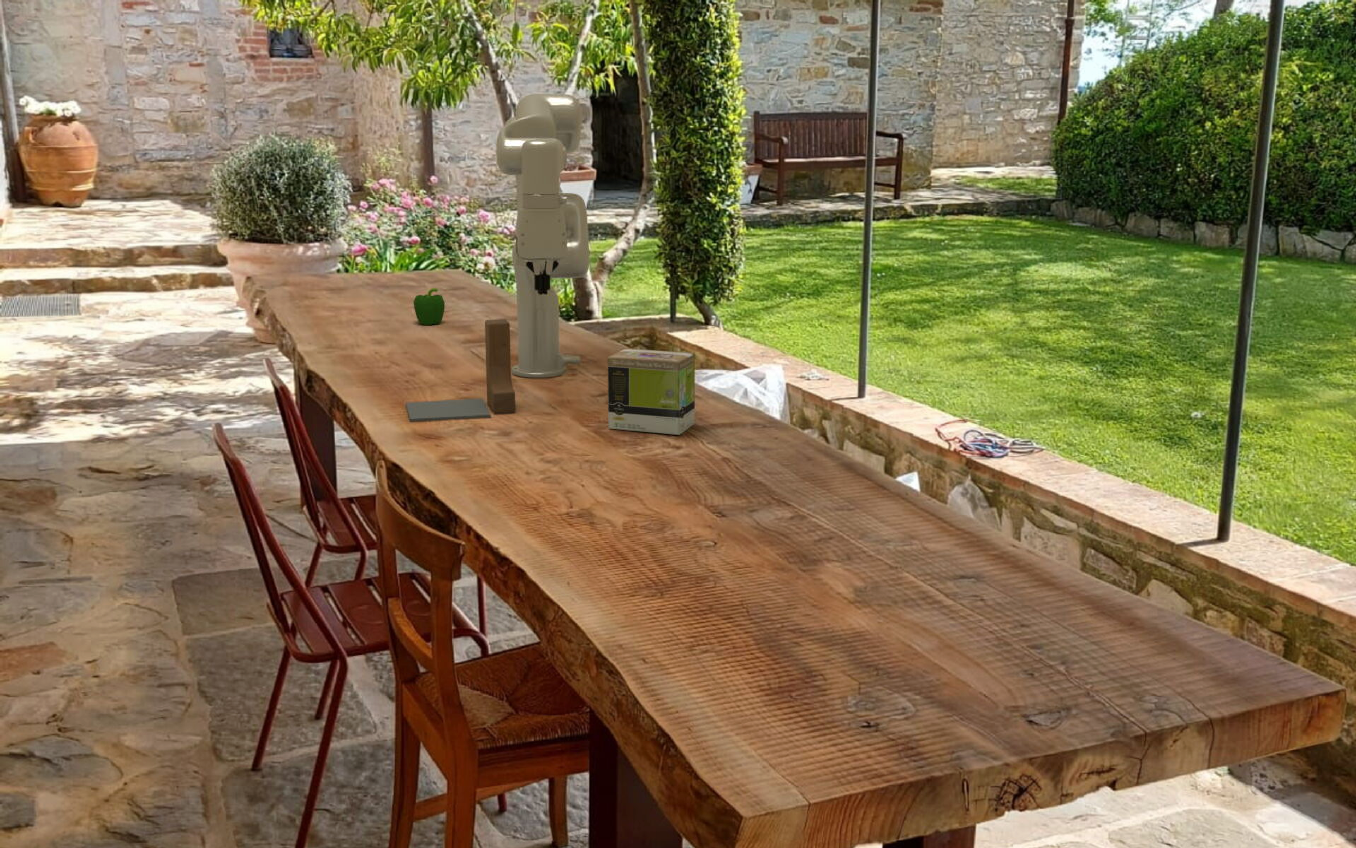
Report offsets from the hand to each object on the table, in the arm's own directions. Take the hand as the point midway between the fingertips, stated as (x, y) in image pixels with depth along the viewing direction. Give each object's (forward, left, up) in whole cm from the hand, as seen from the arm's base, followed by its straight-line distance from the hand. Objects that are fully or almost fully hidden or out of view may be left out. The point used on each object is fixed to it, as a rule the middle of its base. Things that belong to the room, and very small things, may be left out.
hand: (542, 293), depth 263 cm
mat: (+20, 0, -24) cm, 31 cm away
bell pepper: (+16, -100, -24) cm, 105 cm away
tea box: (-18, +21, -24) cm, 36 cm away
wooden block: (+9, 0, -24) cm, 26 cm away
